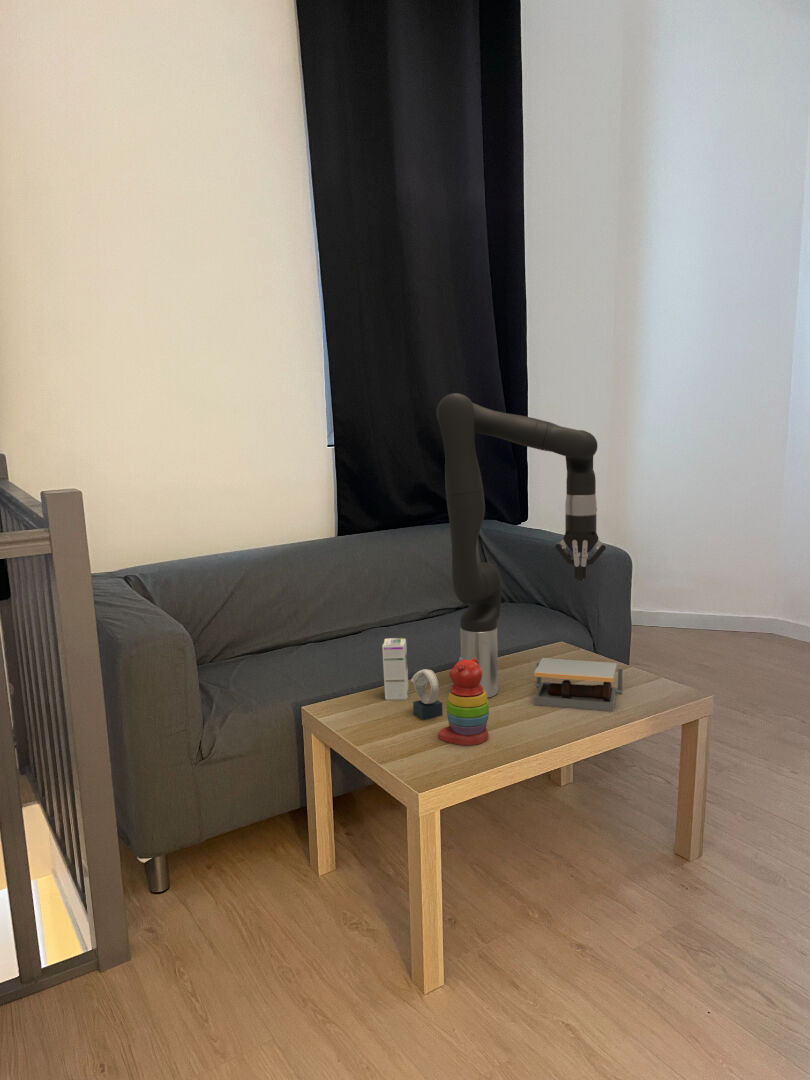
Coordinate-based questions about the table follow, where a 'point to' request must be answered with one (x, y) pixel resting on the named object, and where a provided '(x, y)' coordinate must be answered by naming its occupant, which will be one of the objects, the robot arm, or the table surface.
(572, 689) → the bolt
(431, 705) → the watch
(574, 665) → the lid
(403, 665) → the syrup box
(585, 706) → the housing
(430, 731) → the table surface
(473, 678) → the stacking bear
